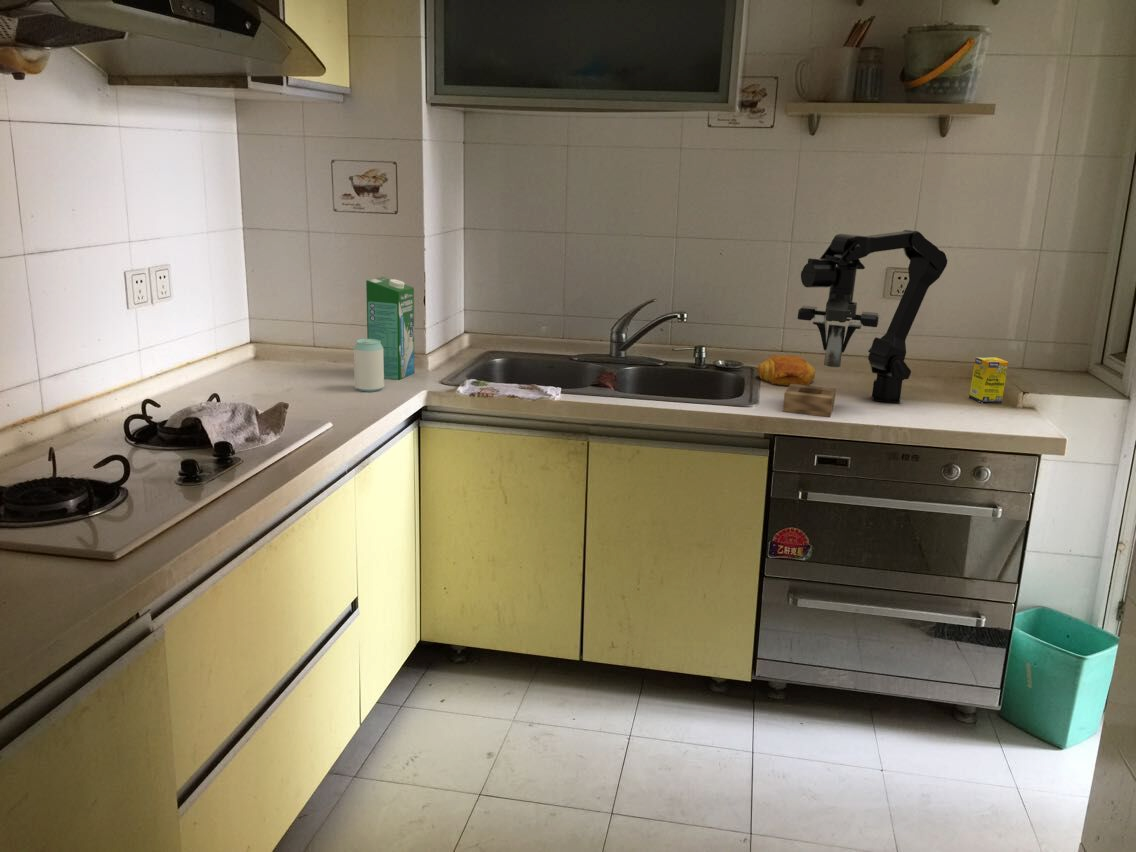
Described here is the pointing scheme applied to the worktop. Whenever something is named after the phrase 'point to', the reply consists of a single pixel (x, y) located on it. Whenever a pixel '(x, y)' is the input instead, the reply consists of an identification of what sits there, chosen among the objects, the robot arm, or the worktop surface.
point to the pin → (834, 345)
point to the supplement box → (988, 379)
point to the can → (368, 365)
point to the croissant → (786, 370)
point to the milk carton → (392, 324)
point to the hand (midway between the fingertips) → (833, 351)
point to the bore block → (809, 400)
